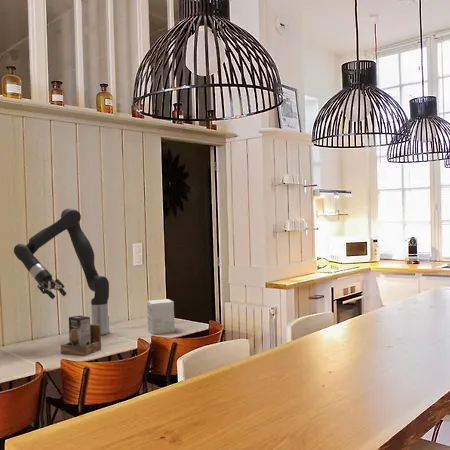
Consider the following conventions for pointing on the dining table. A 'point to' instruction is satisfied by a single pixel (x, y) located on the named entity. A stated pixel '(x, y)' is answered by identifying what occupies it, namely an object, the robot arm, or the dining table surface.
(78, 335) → the coffee box
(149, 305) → the supplement box
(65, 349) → the open walnut box
